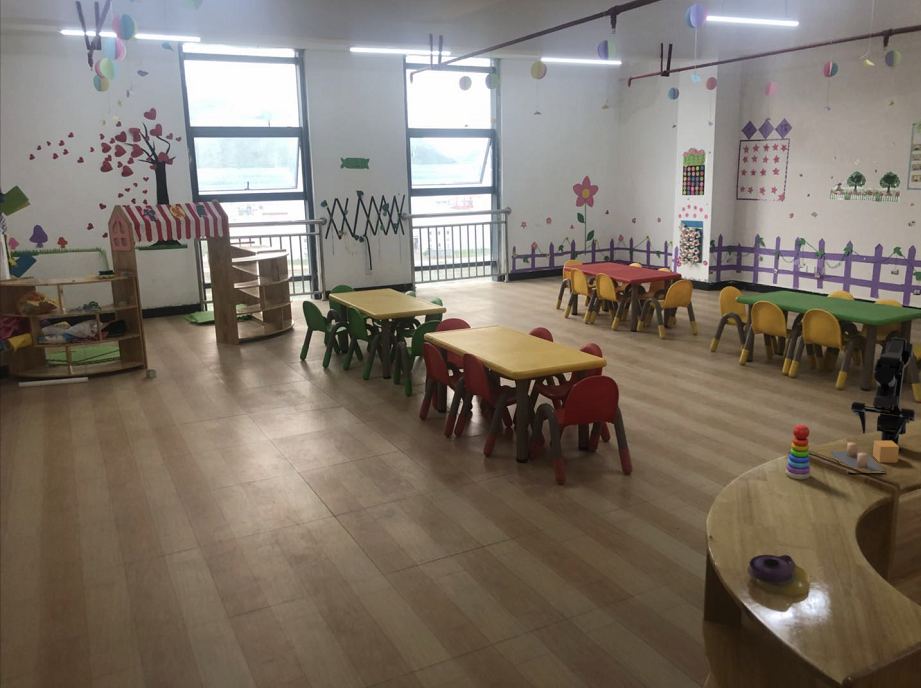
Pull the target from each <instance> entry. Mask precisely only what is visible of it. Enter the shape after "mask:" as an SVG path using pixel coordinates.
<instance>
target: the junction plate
mask: <svg viewBox="0 0 921 688" xmlns="http://www.w3.org/2000/svg"><path fill="white" fill-rule="evenodd" d="M830 453H831V454H832V455H833V456H834V457H835V458H837V459H839V460H840V461H842V462H844V463H845V464H848V465H850V466H853V467H857V468H865V469H867V470H868V469H869V470H870V471H881V472H885V473H886V470H884V468H883V467H882V466H880V464H878V462H877V461H875V459H874V458H872V457H871V456H870V454H869V453H867V452H866V451H865V450H864V451H861V450H859V451H858V443H856V442H853V441H850V442H847V449H846V450H845V451H843V450H841V451H839V450H837V451H835V450H831V451H829V454H830ZM831 454H830V455H831ZM832 455H831V456H832ZM833 456H832V457H833ZM834 457H833V458H834ZM847 472H849V470H847ZM847 472H846V473H847Z"/></svg>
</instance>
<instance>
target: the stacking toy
mask: <svg viewBox="0 0 921 688" xmlns="http://www.w3.org/2000/svg"><path fill="white" fill-rule="evenodd" d="M792 431H793V432H792V433H793V435H794V437H793V438H792V439H791V440H792V443H791V447H790V448H791V449H790V450H789V451H790V453H789V454H788V459H787V463H786V469H785V474H786V476H787V477H789V478H791V479H793V480H794V479H795V480H807V479H809V478H810V477H811V471H810V470H811V466H810V456H809V455H810V451H809V448H810V446H809V441H810V440H809V439H808V437H809V435H810V429H809V428H808V426H806V425H805V424H797V425H795V426H794V428H793V429H792Z"/></svg>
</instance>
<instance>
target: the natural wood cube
mask: <svg viewBox="0 0 921 688" xmlns="http://www.w3.org/2000/svg"><path fill="white" fill-rule="evenodd" d="M898 445H899V444H898ZM898 445H896V444H895V443H894V442H893V441H881V440H873V449H872V450H873V452H872V457H873V456H874V457H875V458H876V459H877V460H878V461H879V463H893V464H894V463H898V460H899V446H900V445H899V446H898ZM875 458H874V459H875ZM876 459H875V460H876ZM877 460H876V461H877Z"/></svg>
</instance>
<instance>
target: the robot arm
mask: <svg viewBox="0 0 921 688" xmlns="http://www.w3.org/2000/svg"><path fill="white" fill-rule="evenodd" d="M913 356H914V345H913V344H912V343H911V342H908V341H907V339H906V338H903V337H892V338H890V339H889V341H887V342H886V347H885V353H881V355H880V356H879V358H877V360H876V363H875V366H874V369H873V370H874V372H875V373H874V380H875V382H876V390H875V391H876V392H875V396H874V397H873V403H872V406H867V405H866V403H865V402H860V401H859V402H858V401H854V402H852V403H851V408H850V411H851V413H854V414H855V416H857V417H859V419H860V423H861V424H860V425H861V428H862V429H861V430H862V433H863V434H864V435H865V434H866V424H867V423H866V417H867V416H866V413H873V414H879V415H878V416H877V418H876V419H877V420H876V432H881V433H880V434H881V435H880V441H893V442H894V443H895V444H896V445H898V446H899V450H901V451H902V449H903V448H902V447H901V446H900V445H899V441H900V435H902V436H903V435H905V434H906V433H907V431H906V430H907V424H909V423H910V422H915V420H916V419H915V418H916V411H915V410H914V409H911V408H910V409H909V408H900V403H901V397H902V396H901V395H902V387H903V381H904V380H903V379H904V373H905V369H906V367H907V366H908V365H909V364H910V362H911V358H913Z"/></svg>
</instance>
